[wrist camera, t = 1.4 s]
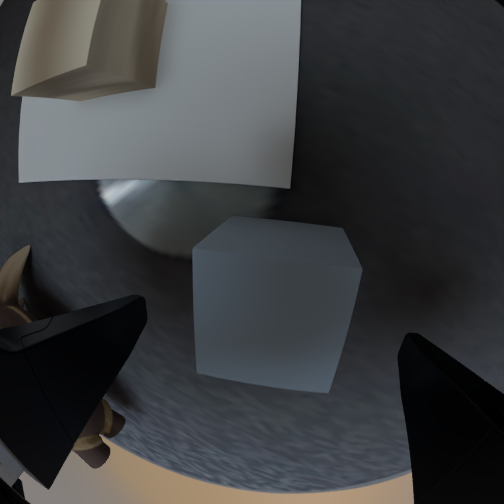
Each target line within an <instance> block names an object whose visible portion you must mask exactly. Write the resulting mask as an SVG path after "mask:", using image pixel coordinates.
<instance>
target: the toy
mask: <svg viewBox="0 0 504 504" xmlns="http://www.w3.org/2000/svg"><path fill="white" fill-rule="evenodd" d="M30 247H31V246H30V245H27V246H25V247H23V248H22V249H20V250H19V251H18V252H16V253H15V254H14V255H13V256H11V257H10V258H9V259H8V260H7V262H6V263H5V264H4V265H3V267H2V268H1V270H0V329H1V328H6V327H11V326H17V325H21V324H26V323H31V322H35V321H39V320H38V319H37V318H36V317H34V316H33V315H32V314H30V313H29V312H27V311H25V310H23V308H24V299H23V298H22V299H20V300H18V293H19V283H20V279H21V275H22V271H23V268H24V265H25V262H26V260H27V257H28V254H29V251H30ZM124 425H125V418H124V417H123V416H122V415H120V414H119V413H117V412H115V411H114V410H112V409H111V407H110V405H109V404H108V402H107V401H106V400H105V399H102V400H101V401H100V403H99V404H98V406H97V408H96V409H95V411H94V413H93V414H92V416H91V418H90V419H89V421H88V423H87V424H86V426H85V428H84V429H83V431H82V433H81V434H80V436H79V438H78V439H77V441H76V443H74V446H73V448H72V451H74V452H75V453H77V454H78V455H79V456H80V457H81V458H82V459H83V460H84V461H85V462H86V463H87V464H88V465H89V466H90V467H92V468H99V467H100V466H102V465H103V464H104V463H105V462H106V461H107V459H108V457H109V455H110V448H109V446H108V445H106V444H105V443H104V442H103V441H102V438H101V437H100V436H99V434H103V435H104V436H105V437H107V438H112V437H114V436H116V435H117V434H118V433H119V432H120V431H121V430H122V428H123V426H124Z"/></svg>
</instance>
